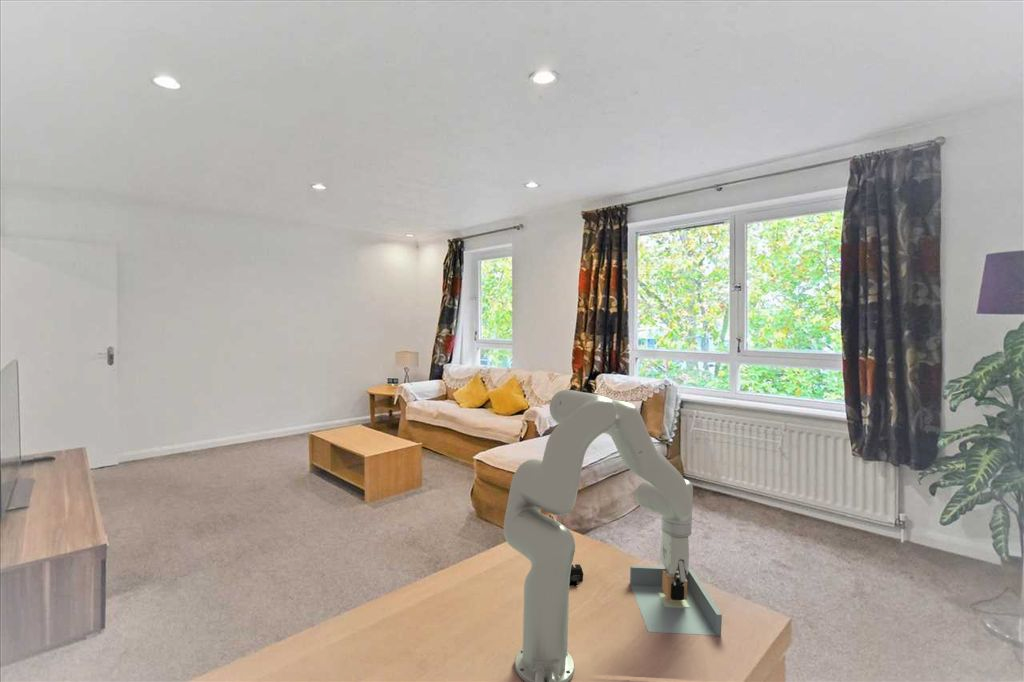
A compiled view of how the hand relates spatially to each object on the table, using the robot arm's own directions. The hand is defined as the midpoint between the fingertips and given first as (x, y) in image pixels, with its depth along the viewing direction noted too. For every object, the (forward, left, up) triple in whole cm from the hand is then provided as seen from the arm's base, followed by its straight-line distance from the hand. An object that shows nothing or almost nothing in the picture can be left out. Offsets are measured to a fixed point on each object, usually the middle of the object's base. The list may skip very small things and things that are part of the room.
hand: (674, 592), depth 128 cm
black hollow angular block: (+9, +25, -4) cm, 27 cm away
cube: (0, 0, 0) cm, 0 cm away
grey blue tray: (-3, +1, -3) cm, 4 cm away
